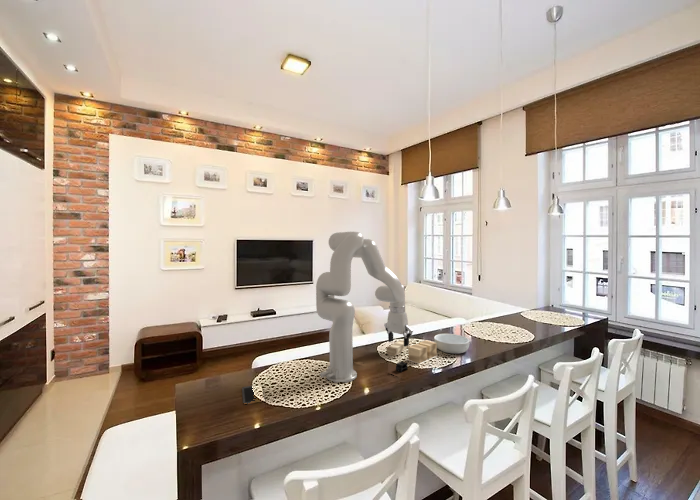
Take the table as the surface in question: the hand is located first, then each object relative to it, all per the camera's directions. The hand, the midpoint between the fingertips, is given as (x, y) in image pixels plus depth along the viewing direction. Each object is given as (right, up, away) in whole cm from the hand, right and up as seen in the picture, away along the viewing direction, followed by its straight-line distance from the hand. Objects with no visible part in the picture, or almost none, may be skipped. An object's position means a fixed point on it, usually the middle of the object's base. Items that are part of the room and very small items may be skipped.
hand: (398, 343), depth 152 cm
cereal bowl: (+27, -5, 0) cm, 27 cm away
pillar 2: (+13, -4, -7) cm, 15 cm away
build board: (+10, -5, -10) cm, 15 cm away
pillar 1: (+7, -4, -13) cm, 15 cm away
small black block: (-2, -6, -24) cm, 25 cm away
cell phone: (-59, -7, -41) cm, 73 cm away
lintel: (0, -5, 0) cm, 5 cm away
